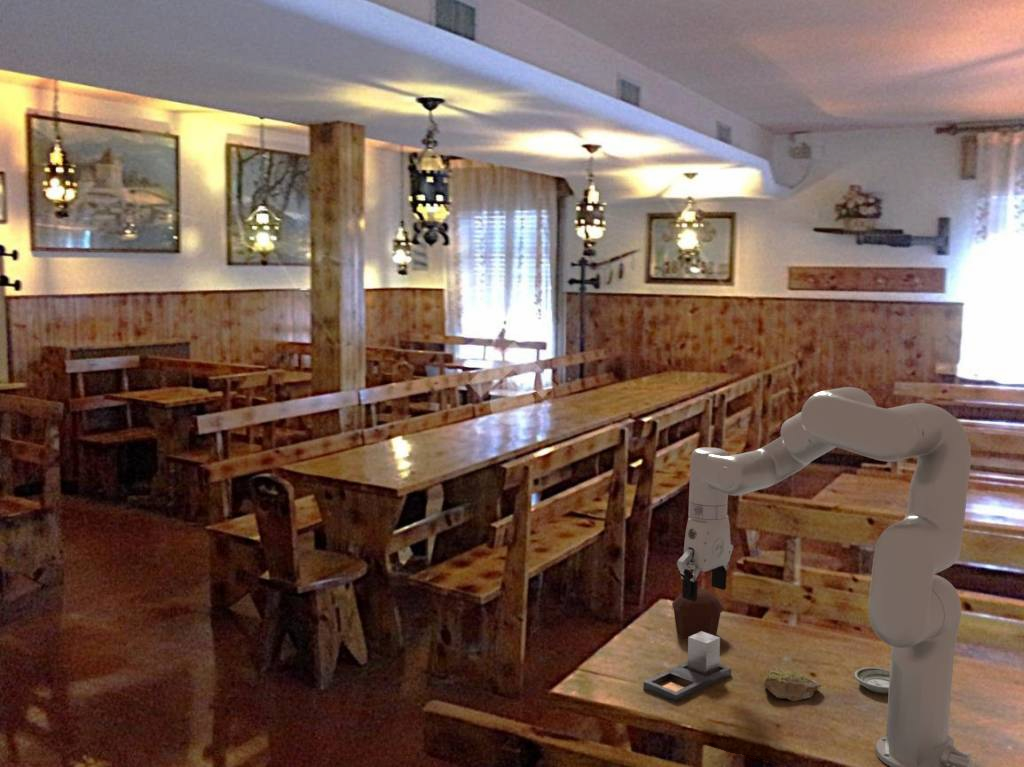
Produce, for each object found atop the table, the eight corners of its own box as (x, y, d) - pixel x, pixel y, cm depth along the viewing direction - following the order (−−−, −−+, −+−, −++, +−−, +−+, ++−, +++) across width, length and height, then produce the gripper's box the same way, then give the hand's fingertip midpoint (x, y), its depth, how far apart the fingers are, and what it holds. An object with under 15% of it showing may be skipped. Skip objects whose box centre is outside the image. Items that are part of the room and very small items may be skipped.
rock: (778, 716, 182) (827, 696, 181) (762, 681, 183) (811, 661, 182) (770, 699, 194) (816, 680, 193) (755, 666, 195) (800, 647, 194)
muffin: (711, 648, 208) (712, 603, 207) (663, 637, 214) (664, 594, 212) (729, 630, 218) (730, 588, 217) (683, 621, 224) (684, 579, 222)
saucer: (917, 693, 187) (918, 681, 186) (881, 703, 182) (882, 691, 182) (878, 674, 195) (878, 663, 195) (843, 683, 191) (843, 672, 190)
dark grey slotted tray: (731, 675, 194) (731, 668, 194) (676, 702, 182) (676, 695, 181) (698, 663, 200) (698, 656, 199) (643, 688, 187) (643, 681, 187)
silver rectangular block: (718, 675, 194) (720, 637, 193) (705, 681, 191) (706, 643, 190) (700, 668, 197) (701, 631, 196) (687, 674, 194) (688, 636, 193)
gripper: (697, 522, 181) (693, 609, 184) (748, 506, 193) (744, 588, 195) (665, 514, 187) (662, 598, 189) (717, 499, 198) (714, 579, 201)
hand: (704, 593), depth 192 cm, fingers open, 9 cm apart
